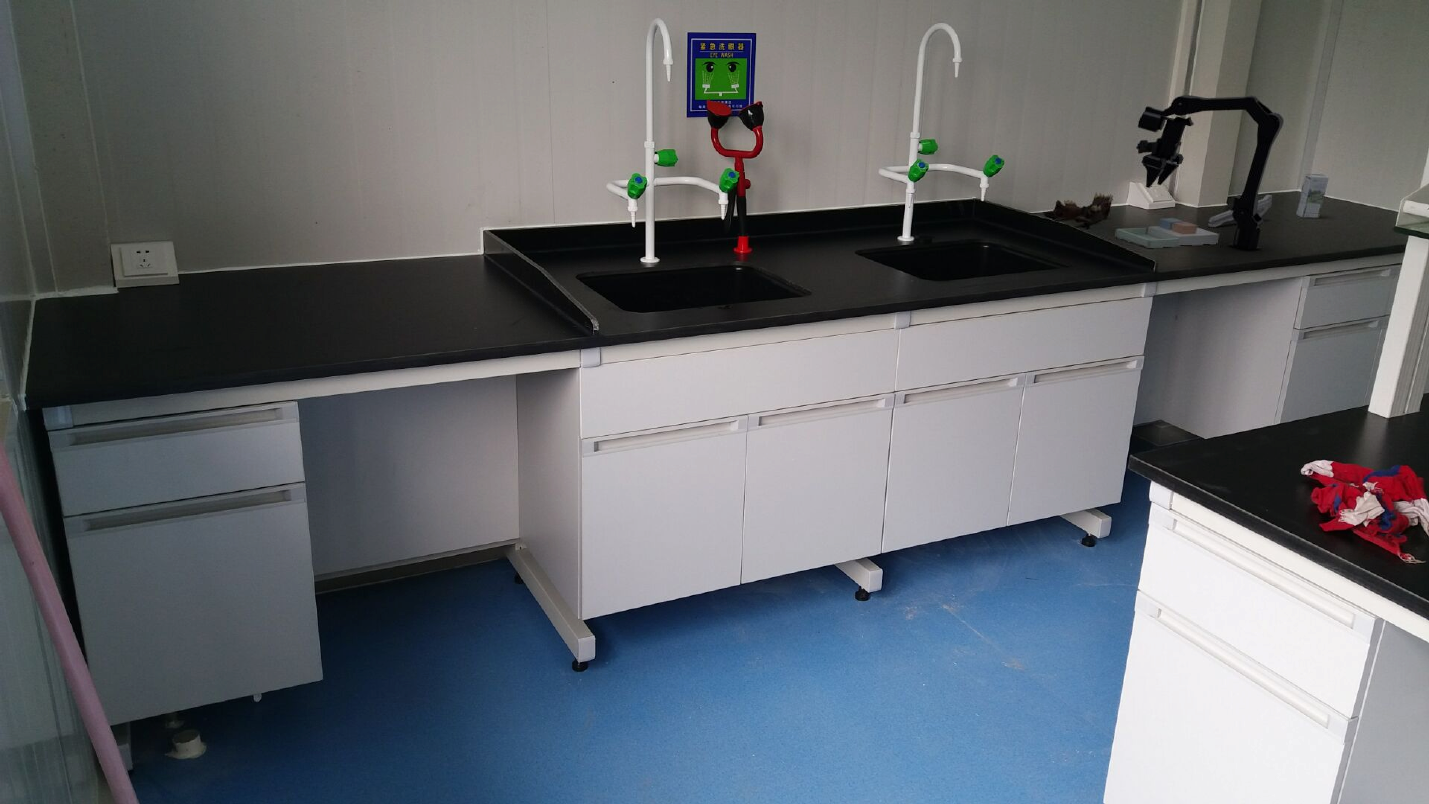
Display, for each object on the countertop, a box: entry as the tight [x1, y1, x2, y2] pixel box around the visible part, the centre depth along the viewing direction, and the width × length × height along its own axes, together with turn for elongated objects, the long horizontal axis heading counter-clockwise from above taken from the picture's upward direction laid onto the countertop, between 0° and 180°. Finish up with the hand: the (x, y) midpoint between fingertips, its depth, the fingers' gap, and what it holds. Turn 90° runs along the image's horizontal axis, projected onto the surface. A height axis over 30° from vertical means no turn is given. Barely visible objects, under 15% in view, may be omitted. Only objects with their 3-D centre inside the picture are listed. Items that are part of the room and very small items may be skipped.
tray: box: [1114, 227, 1179, 249], centre depth 333 cm, size 16×11×2 cm
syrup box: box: [1295, 173, 1330, 219], centre depth 374 cm, size 6×6×14 cm
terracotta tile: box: [1171, 221, 1198, 234], centre depth 333 cm, size 5×5×2 cm
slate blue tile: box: [1158, 217, 1185, 230], centre depth 339 cm, size 5×5×2 cm
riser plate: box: [1146, 225, 1220, 247], centre depth 337 cm, size 14×15×3 cm
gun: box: [1207, 194, 1273, 229], centre depth 362 cm, size 2×30×8 cm, turn 120°
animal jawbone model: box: [1042, 192, 1114, 229], centre depth 358 cm, size 17×25×10 cm
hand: (1153, 186), depth 339 cm, fingers open, 9 cm apart
